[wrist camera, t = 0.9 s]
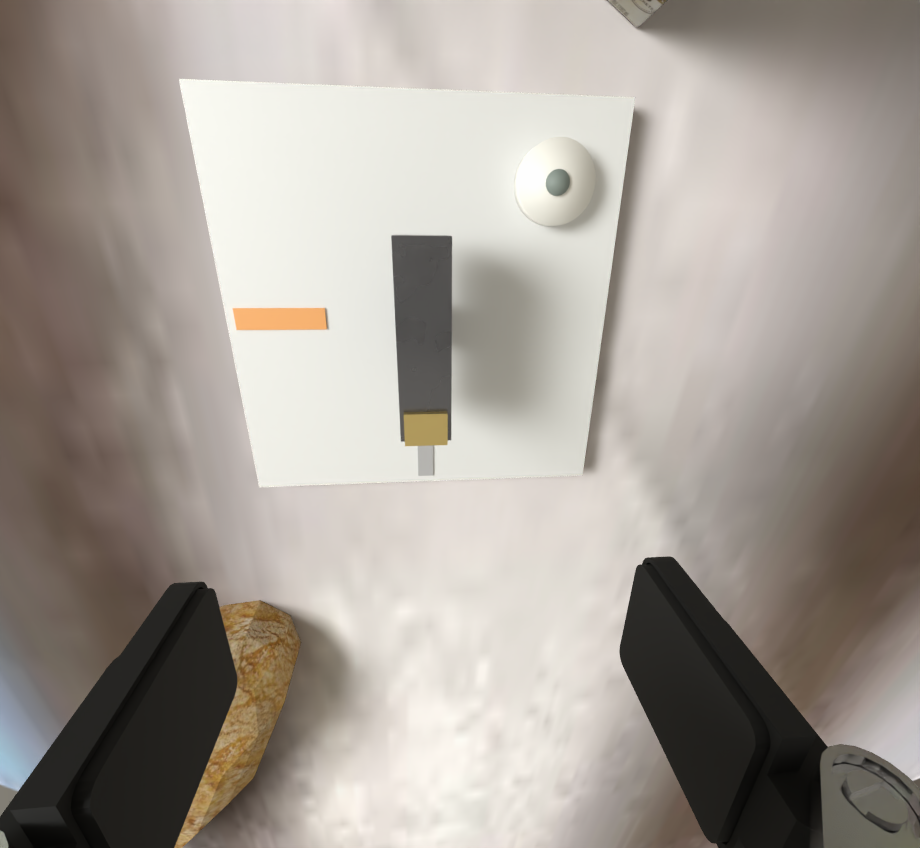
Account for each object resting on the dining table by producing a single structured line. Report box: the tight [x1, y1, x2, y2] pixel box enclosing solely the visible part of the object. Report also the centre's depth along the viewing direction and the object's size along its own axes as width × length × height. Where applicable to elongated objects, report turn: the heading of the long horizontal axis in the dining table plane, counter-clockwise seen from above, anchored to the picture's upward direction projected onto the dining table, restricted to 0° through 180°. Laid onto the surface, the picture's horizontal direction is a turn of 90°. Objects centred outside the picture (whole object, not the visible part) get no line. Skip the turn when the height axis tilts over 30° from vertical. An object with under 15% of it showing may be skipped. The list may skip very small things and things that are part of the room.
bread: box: [174, 600, 301, 848], centre depth 35 cm, size 36×11×10 cm, turn 139°
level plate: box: [179, 79, 635, 487], centre depth 26 cm, size 22×22×3 cm
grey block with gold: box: [391, 235, 452, 446], centre depth 22 cm, size 9×2×7 cm, turn 0°
